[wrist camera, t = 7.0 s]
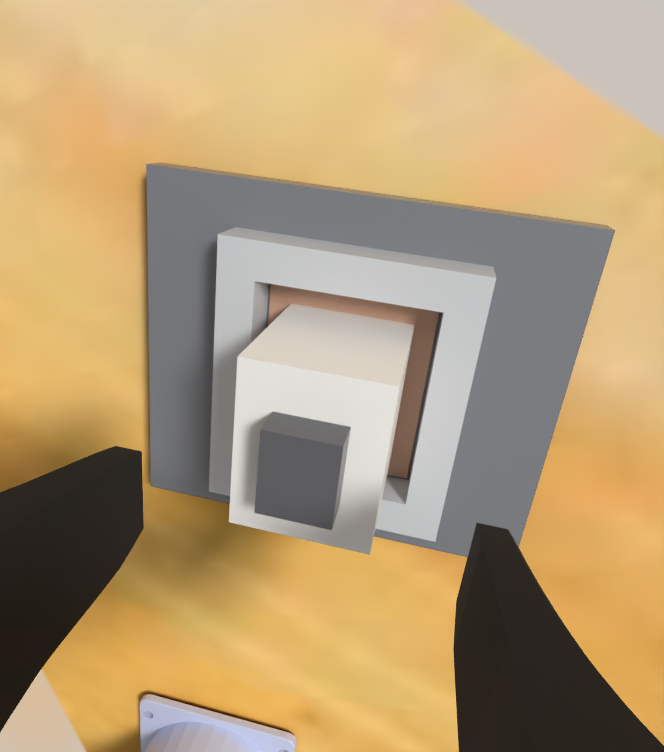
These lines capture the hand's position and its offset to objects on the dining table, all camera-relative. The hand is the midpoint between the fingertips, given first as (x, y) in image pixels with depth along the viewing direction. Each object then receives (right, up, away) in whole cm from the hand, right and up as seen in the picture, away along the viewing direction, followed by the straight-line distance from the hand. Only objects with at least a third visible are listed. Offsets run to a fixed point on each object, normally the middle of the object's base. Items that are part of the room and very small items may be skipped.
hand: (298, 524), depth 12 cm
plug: (+1, +3, +7) cm, 8 cm away
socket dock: (+1, +3, +8) cm, 9 cm away
